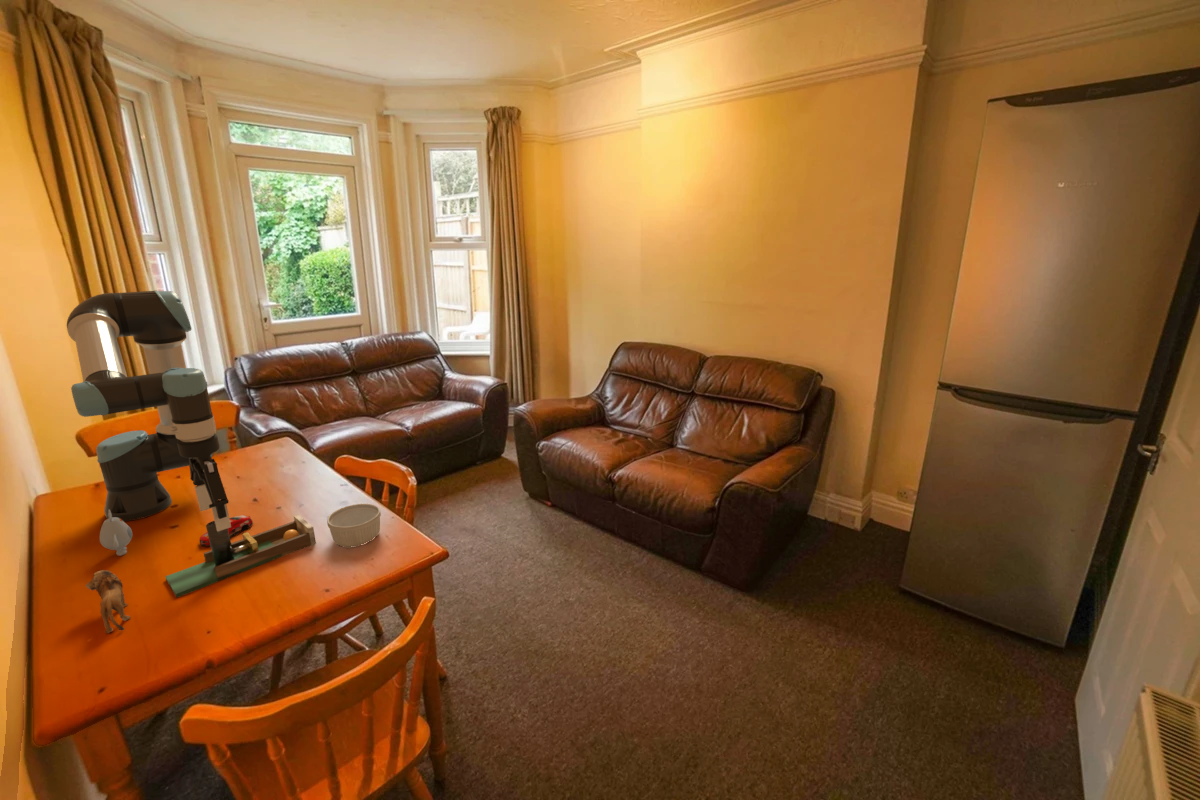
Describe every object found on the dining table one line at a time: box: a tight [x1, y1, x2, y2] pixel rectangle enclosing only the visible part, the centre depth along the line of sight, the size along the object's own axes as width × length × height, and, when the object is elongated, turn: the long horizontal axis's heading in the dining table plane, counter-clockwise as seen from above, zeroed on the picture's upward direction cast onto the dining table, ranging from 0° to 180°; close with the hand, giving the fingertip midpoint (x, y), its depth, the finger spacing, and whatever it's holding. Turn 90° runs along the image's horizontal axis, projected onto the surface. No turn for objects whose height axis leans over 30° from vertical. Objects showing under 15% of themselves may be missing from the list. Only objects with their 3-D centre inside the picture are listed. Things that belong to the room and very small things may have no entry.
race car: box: [199, 514, 254, 547], centre depth 145 cm, size 13×5×4 cm, turn 157°
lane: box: [165, 514, 317, 598], centre depth 133 cm, size 10×30×5 cm, turn 139°
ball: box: [283, 529, 299, 541], centre depth 141 cm, size 4×4×4 cm
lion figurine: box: [85, 569, 131, 634], centre depth 112 cm, size 15×5×9 cm, turn 52°
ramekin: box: [326, 503, 382, 548], centre depth 144 cm, size 13×13×7 cm
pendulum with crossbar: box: [205, 520, 259, 567], centre depth 131 cm, size 7×9×11 cm
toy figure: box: [99, 510, 133, 557], centre depth 135 cm, size 11×6×12 cm, turn 41°
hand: (215, 518), depth 127 cm, fingers open, 13 cm apart
